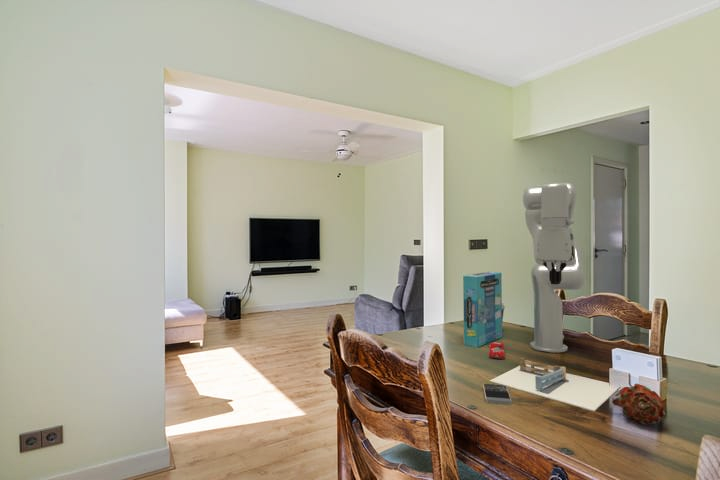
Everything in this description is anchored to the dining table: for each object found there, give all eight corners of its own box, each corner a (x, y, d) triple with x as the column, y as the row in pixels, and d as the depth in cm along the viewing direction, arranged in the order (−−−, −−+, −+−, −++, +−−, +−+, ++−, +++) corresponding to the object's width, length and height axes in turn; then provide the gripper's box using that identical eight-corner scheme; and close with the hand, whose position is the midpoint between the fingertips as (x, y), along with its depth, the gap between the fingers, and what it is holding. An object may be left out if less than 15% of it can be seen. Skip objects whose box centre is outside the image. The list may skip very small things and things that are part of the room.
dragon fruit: (653, 441, 81) (623, 423, 93) (687, 417, 81) (652, 402, 93) (625, 406, 83) (598, 392, 95) (657, 382, 83) (626, 372, 95)
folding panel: (561, 377, 112) (561, 366, 112) (566, 379, 111) (566, 367, 111) (535, 388, 105) (535, 376, 105) (540, 390, 103) (540, 377, 103)
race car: (505, 361, 131) (504, 349, 131) (488, 360, 133) (487, 348, 133) (505, 350, 143) (505, 339, 143) (490, 349, 145) (490, 338, 145)
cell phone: (506, 390, 107) (506, 385, 107) (512, 407, 96) (512, 401, 96) (482, 388, 108) (482, 383, 108) (486, 405, 98) (486, 399, 98)
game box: (488, 335, 165) (487, 271, 165) (502, 337, 160) (502, 272, 160) (463, 344, 150) (462, 275, 150) (478, 348, 146) (477, 276, 146)
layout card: (524, 364, 127) (524, 363, 127) (621, 386, 107) (621, 385, 107) (489, 381, 112) (489, 380, 112) (594, 411, 92) (594, 410, 92)
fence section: (520, 371, 120) (520, 358, 120) (522, 370, 121) (521, 357, 121) (558, 381, 112) (558, 367, 112) (559, 379, 113) (559, 366, 113)
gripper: (585, 223, 116) (586, 284, 116) (535, 225, 127) (536, 281, 127) (576, 223, 111) (577, 287, 111) (525, 225, 122) (525, 283, 122)
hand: (555, 283), depth 119 cm, fingers closed
